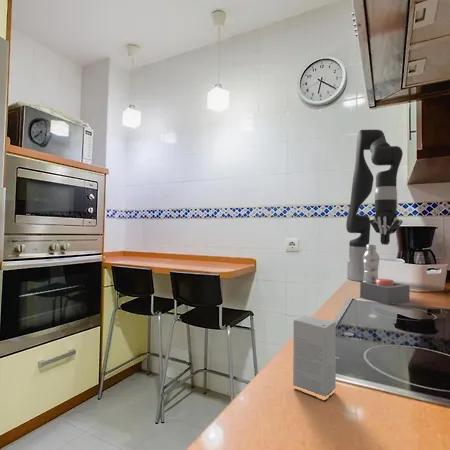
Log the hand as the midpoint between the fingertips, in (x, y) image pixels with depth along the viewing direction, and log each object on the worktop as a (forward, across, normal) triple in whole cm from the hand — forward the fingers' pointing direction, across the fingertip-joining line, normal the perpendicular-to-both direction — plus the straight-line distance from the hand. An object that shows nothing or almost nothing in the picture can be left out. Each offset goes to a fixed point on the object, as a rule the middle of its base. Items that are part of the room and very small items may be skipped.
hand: (384, 244), depth 120 cm
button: (+19, 0, 0) cm, 19 cm away
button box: (+21, 0, 0) cm, 21 cm away
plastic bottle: (+21, +11, -6) cm, 25 cm away
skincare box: (+21, -40, +70) cm, 83 cm away
